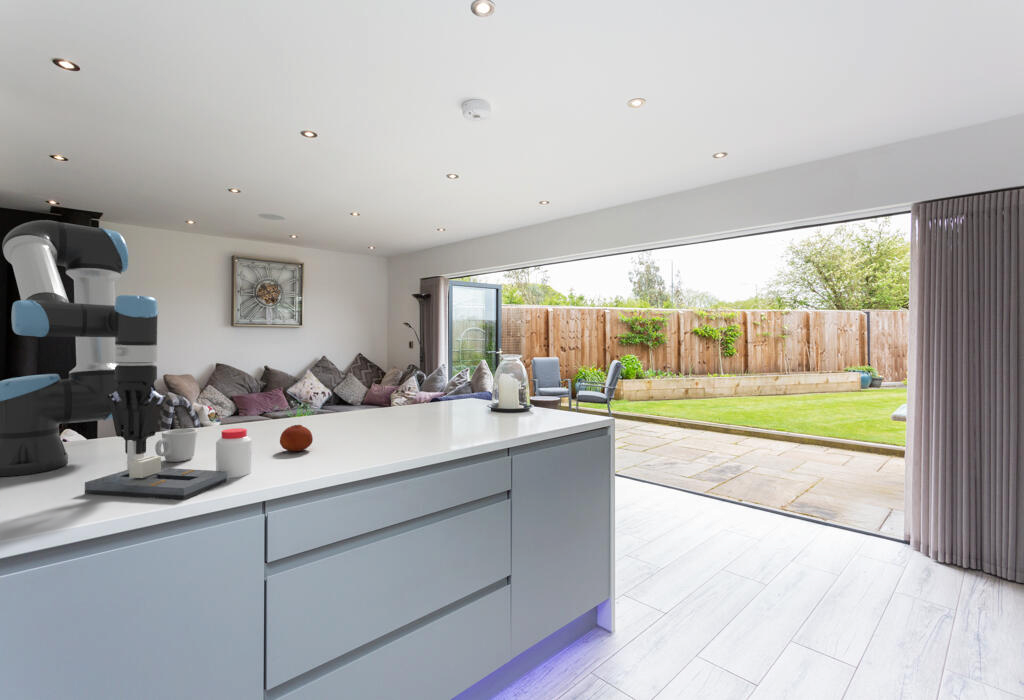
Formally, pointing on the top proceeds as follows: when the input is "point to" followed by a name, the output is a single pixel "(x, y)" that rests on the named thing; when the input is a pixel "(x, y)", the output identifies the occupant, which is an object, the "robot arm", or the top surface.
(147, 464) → the fader
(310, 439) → the fruit
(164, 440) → the cup
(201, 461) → the top surface
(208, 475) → the console
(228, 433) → the pill bottle
